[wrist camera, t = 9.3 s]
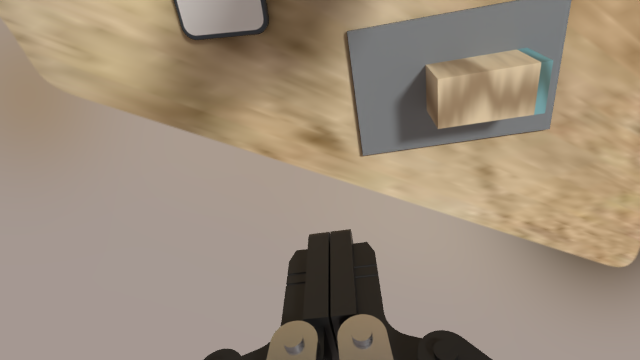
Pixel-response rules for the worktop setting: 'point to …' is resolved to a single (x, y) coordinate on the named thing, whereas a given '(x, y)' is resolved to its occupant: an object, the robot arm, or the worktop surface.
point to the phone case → (222, 17)
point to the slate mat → (439, 46)
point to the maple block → (487, 87)
